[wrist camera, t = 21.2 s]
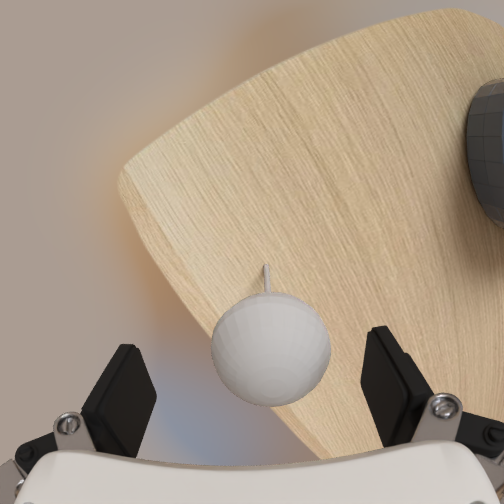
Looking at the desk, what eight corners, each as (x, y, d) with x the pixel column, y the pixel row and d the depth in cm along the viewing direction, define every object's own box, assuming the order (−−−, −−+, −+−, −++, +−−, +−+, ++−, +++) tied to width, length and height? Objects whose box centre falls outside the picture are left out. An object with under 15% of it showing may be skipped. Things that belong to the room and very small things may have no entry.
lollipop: (313, 274, 26) (363, 395, 12) (259, 309, 27) (258, 443, 13) (273, 218, 24) (294, 302, 10) (217, 257, 26) (172, 371, 11)
